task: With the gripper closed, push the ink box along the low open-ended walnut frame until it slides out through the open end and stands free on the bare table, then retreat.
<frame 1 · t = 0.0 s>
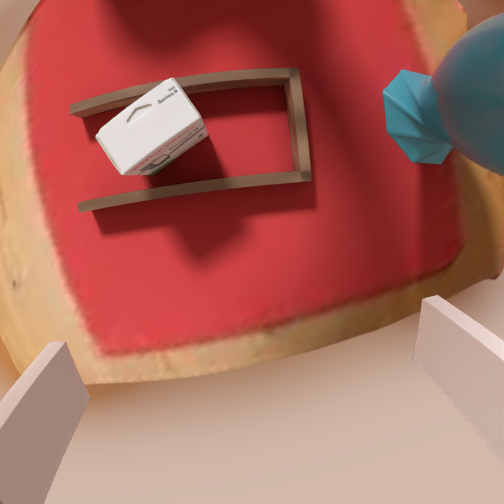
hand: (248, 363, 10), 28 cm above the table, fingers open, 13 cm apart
ink box: (169, 140, 34), resting in walnut frame
walnut frame: (185, 137, 33), on the table
vase: (423, 116, 35), on the table
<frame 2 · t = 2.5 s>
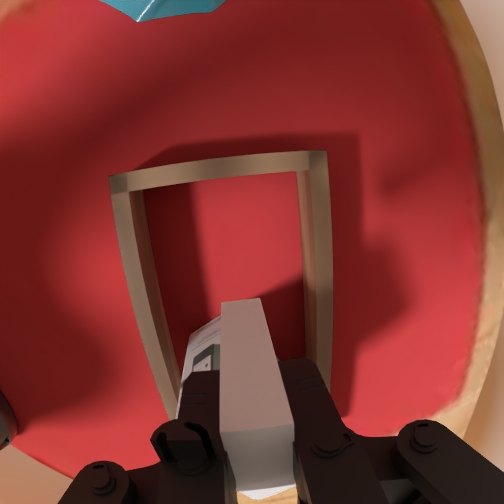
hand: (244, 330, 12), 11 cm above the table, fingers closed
ink box: (241, 354, 25), resting in walnut frame
walnut frame: (238, 335, 24), on the table
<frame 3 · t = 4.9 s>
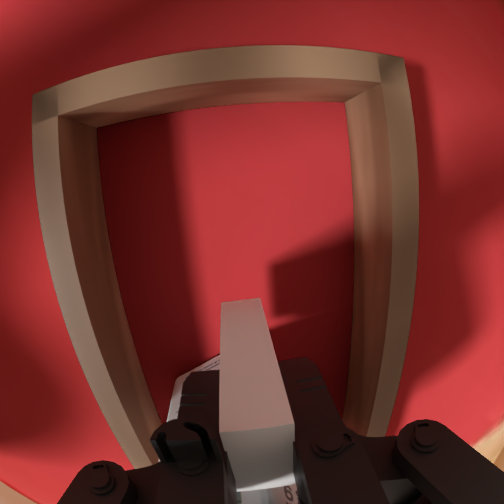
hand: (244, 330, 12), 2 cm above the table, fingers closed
ink box: (254, 405, 15), resting in walnut frame, touching gripper
walnut frame: (247, 368, 15), on the table
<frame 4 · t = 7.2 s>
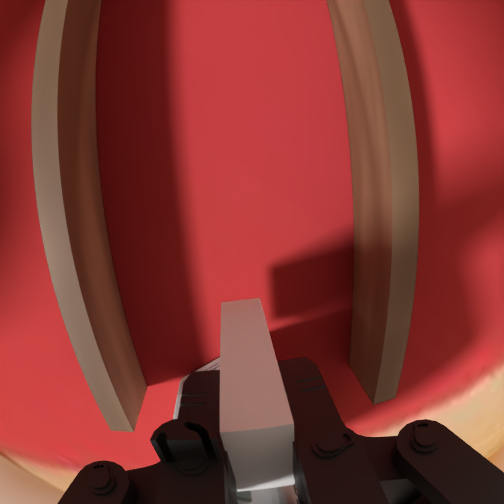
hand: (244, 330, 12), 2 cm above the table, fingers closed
ink box: (258, 404, 15), on the table, touching gripper
walnut frame: (218, 97, 11), on the table
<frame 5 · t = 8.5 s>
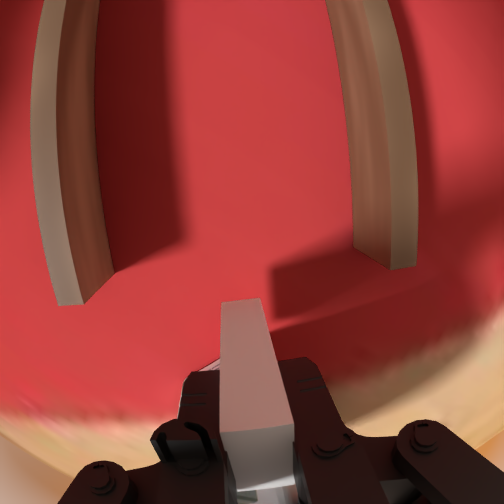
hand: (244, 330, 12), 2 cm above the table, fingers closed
ink box: (262, 403, 16), on the table, touching gripper
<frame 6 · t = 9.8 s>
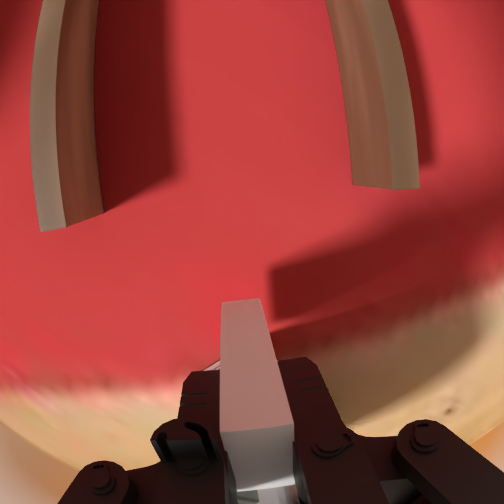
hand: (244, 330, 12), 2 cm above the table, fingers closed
ink box: (264, 403, 15), on the table, touching gripper
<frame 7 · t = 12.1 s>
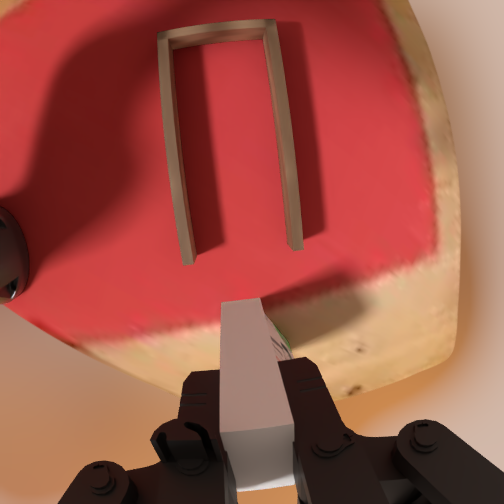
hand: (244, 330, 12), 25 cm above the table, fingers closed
ink box: (257, 331, 40), on the table
walnut frame: (228, 135, 33), on the table
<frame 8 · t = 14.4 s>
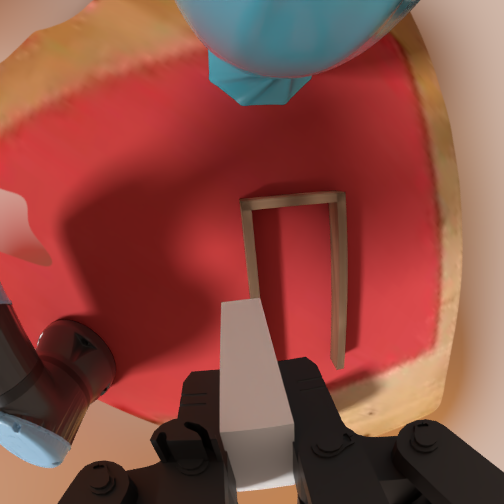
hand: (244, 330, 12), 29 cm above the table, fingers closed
walnut frame: (295, 288, 43), on the table
vase: (259, 59, 35), on the table
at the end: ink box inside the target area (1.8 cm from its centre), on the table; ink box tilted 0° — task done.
